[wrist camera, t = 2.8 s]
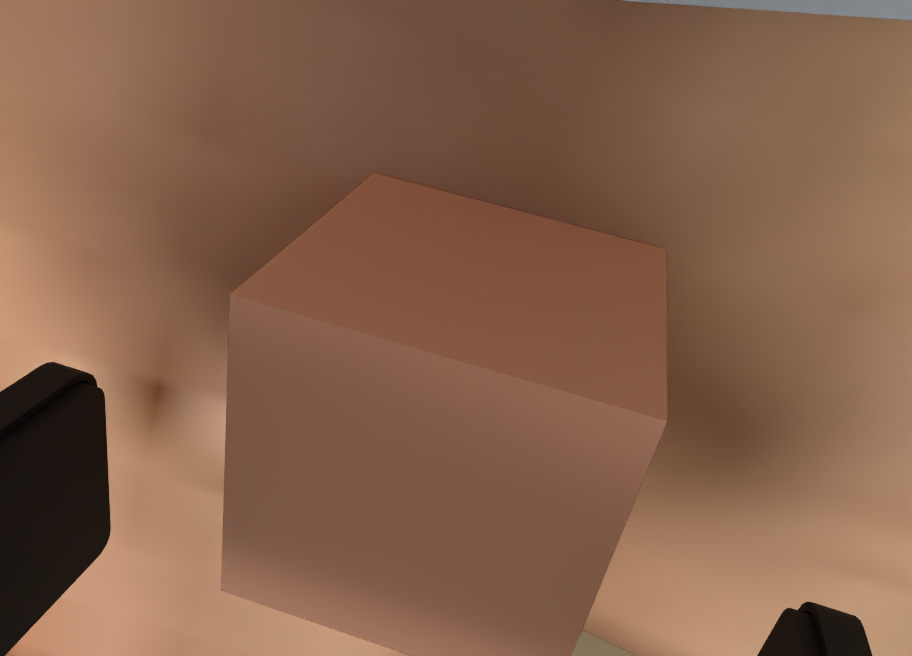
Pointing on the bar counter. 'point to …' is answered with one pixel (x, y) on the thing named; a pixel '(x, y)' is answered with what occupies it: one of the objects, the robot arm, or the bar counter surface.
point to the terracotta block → (440, 421)
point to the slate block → (812, 6)
